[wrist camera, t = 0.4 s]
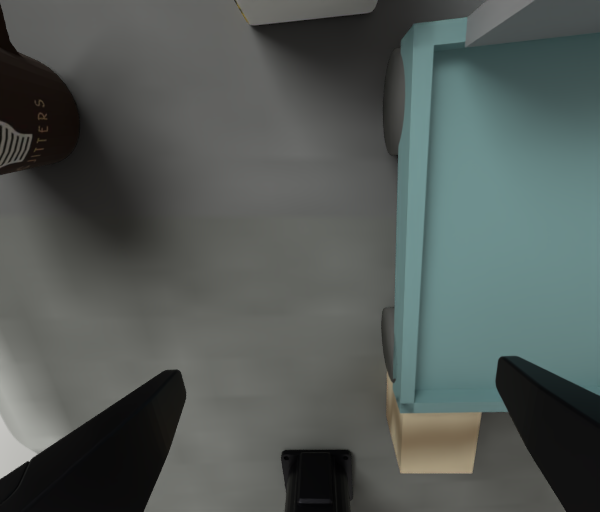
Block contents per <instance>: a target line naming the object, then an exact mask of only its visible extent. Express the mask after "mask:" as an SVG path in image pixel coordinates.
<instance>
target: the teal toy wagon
mask: <svg viewBox="0 0 600 512" xmlns="http://www.w3.org/2000/svg"><path fill="white" fill-rule="evenodd" d="M383 128H384V138H385V143H386V147H387V150H388V153H389V154H390V155H398V187H397V229H396V270H395V307H390V308H384V309H383V312H382V321H381V329H382V344H383V352H384V358H385V363H386V368H387V372H388V375H389V378H390V380H391V382H392V383H393V392H394V395H395V398H396V402H397V405H398V408H399V411H400V413H464V412H508V410H507V408H506V406H505V404H504V402H503V400H502V398H501V397H500V395H499V393H498V390H497V388H496V383H495V379H496V372H497V364H498V359H499V358H500V357H501V356H519V357H521V358H523V359H525V360H527V361H529V362H531V363H533V364H535V365H537V366H539V367H542V368H544V369H546V370H548V371H550V372H552V373H554V374H556V375H558V376H560V377H562V378H564V379H566V380H568V381H570V382H573V383H575V384H577V385H579V386H581V387H583V388H585V389H587V390H589V391H591V392H593V393H595V394H597V395H599V396H600V0H487V1H485V2H484V3H483V4H482V5H481V6H480V7H479V8H477V9H476V10H475V11H474V12H473V13H472V14H471V15H469V16H468V17H464V18H456V19H448V20H440V21H432V22H423V23H415V24H413V26H412V27H411V28H410V30H409V31H408V32H407V33H406V35H405V36H404V37H403V39H402V40H401V48H396V49H394V50H393V52H392V54H391V56H390V59H389V62H388V66H387V71H386V77H385V85H384V97H383Z"/></svg>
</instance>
